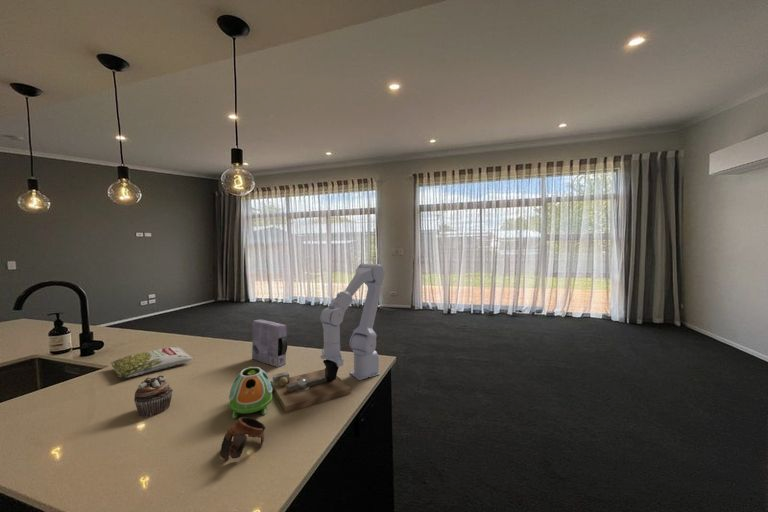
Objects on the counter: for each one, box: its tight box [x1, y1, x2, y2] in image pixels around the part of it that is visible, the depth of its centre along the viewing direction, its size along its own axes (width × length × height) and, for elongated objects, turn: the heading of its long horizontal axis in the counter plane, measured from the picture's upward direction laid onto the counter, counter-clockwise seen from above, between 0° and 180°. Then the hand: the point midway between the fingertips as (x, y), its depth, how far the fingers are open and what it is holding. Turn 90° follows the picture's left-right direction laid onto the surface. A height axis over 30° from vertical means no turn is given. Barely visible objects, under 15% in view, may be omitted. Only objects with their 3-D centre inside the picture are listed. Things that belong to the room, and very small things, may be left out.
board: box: [271, 368, 352, 414], centre depth 106 cm, size 22×20×5 cm
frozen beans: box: [109, 346, 194, 379], centre depth 129 cm, size 21×6×25 cm
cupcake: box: [133, 375, 174, 418], centre depth 94 cm, size 10×10×10 cm
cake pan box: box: [251, 318, 288, 368], centre depth 133 cm, size 19×5×18 cm, turn 58°
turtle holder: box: [228, 366, 273, 420], centre depth 96 cm, size 12×18×12 cm
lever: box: [287, 367, 333, 392], centre depth 105 cm, size 17×4×4 cm, turn 124°
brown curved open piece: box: [219, 416, 266, 462], centre depth 74 cm, size 12×10×8 cm
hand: (332, 379), depth 106 cm, fingers closed
